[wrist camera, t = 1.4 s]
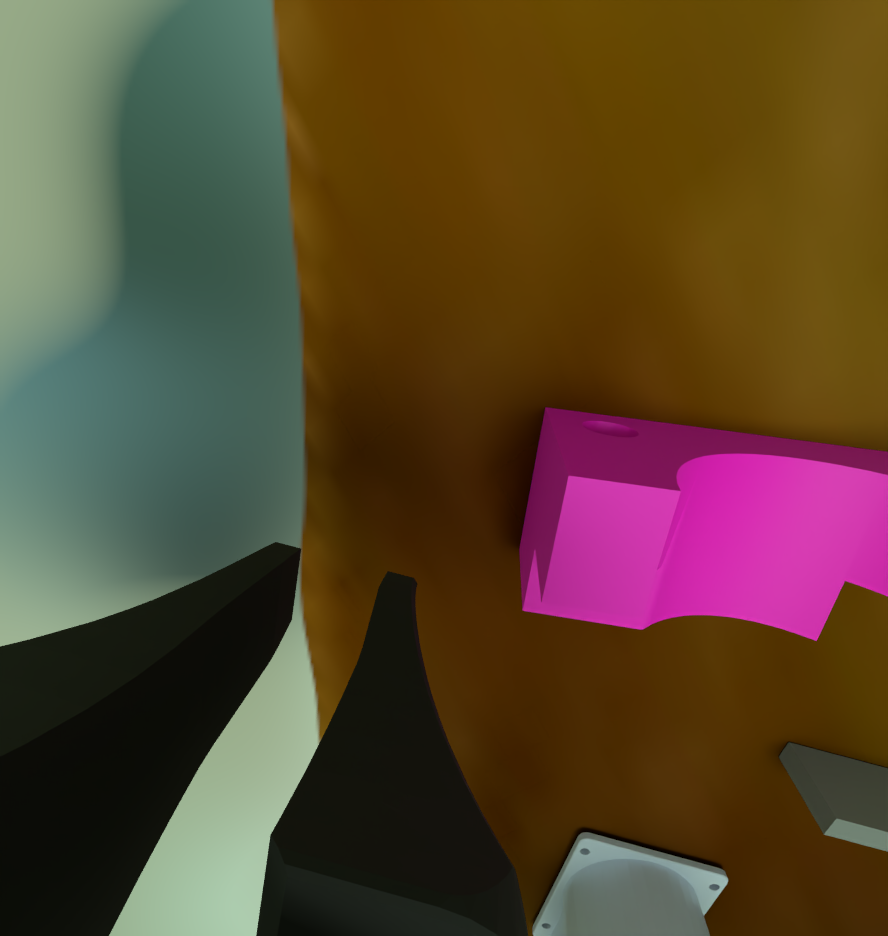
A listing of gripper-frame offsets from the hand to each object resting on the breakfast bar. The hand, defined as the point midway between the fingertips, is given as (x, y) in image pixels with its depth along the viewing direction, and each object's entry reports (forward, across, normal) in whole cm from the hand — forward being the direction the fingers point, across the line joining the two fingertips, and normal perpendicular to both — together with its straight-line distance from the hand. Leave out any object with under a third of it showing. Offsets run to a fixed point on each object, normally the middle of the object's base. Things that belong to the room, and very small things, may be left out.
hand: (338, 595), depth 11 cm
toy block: (+10, -12, -1) cm, 16 cm away
